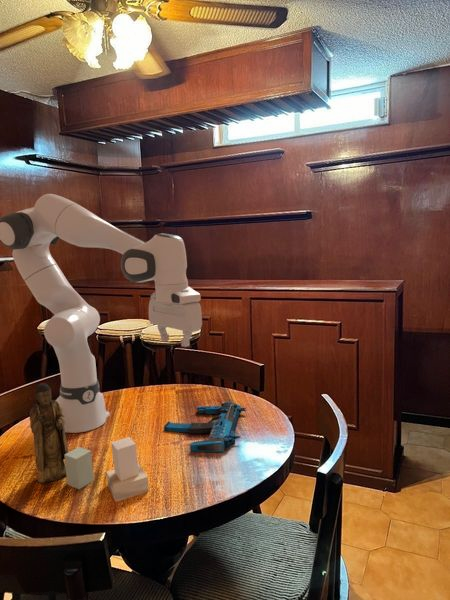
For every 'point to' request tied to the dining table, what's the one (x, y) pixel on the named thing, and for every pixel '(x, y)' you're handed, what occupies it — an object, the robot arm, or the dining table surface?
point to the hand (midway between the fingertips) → (175, 343)
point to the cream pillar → (125, 458)
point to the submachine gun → (212, 427)
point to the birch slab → (127, 485)
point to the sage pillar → (79, 467)
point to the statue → (48, 435)
